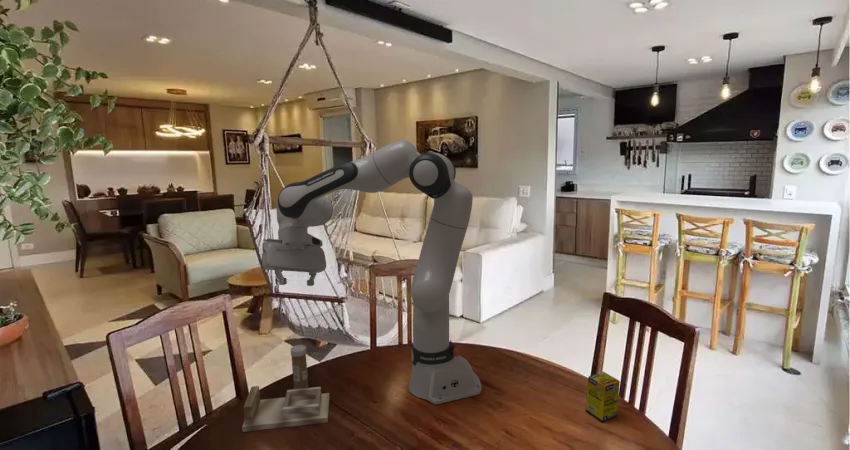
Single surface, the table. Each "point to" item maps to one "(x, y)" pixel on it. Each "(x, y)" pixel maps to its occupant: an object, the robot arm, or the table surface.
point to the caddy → (285, 409)
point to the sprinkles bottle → (299, 367)
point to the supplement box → (602, 396)
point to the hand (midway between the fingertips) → (297, 285)
